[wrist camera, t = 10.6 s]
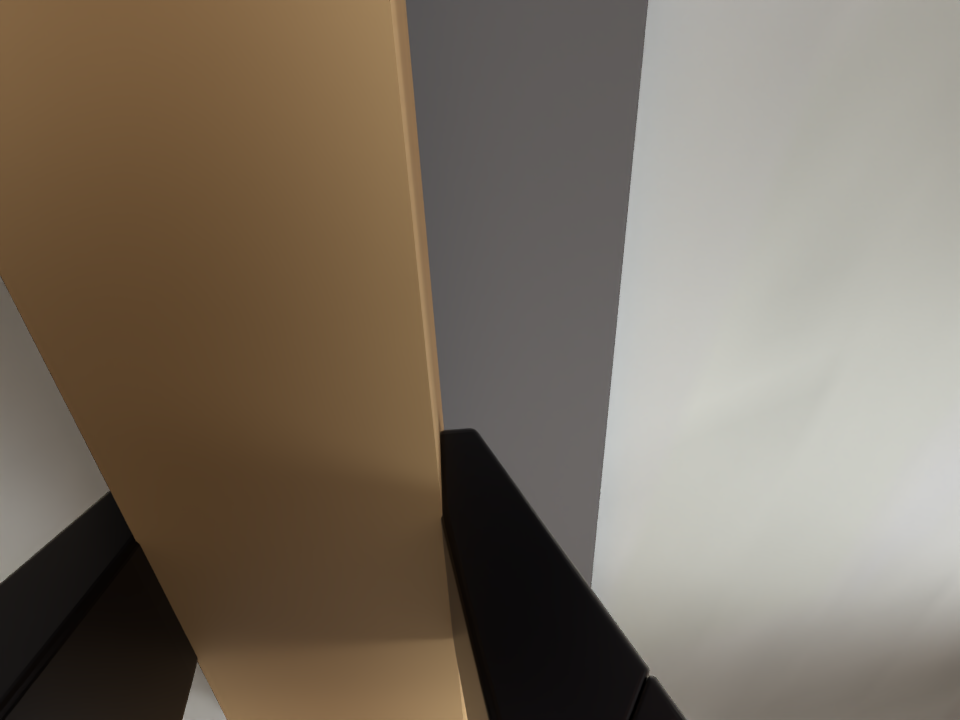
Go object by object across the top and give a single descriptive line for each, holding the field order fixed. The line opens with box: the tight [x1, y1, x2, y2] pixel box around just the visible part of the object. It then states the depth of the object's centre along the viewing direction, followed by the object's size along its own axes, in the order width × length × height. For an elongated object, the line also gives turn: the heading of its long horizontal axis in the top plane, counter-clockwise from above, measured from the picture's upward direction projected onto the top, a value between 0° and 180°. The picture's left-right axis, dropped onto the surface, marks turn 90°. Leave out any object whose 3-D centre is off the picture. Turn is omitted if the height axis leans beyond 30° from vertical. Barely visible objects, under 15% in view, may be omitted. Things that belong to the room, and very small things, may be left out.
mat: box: [406, 0, 648, 587], centre depth 9 cm, size 8×24×1 cm, turn 2°
